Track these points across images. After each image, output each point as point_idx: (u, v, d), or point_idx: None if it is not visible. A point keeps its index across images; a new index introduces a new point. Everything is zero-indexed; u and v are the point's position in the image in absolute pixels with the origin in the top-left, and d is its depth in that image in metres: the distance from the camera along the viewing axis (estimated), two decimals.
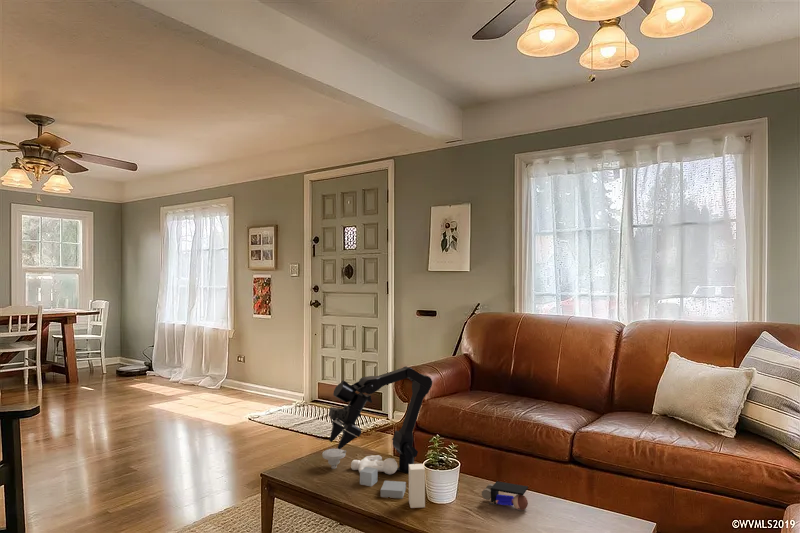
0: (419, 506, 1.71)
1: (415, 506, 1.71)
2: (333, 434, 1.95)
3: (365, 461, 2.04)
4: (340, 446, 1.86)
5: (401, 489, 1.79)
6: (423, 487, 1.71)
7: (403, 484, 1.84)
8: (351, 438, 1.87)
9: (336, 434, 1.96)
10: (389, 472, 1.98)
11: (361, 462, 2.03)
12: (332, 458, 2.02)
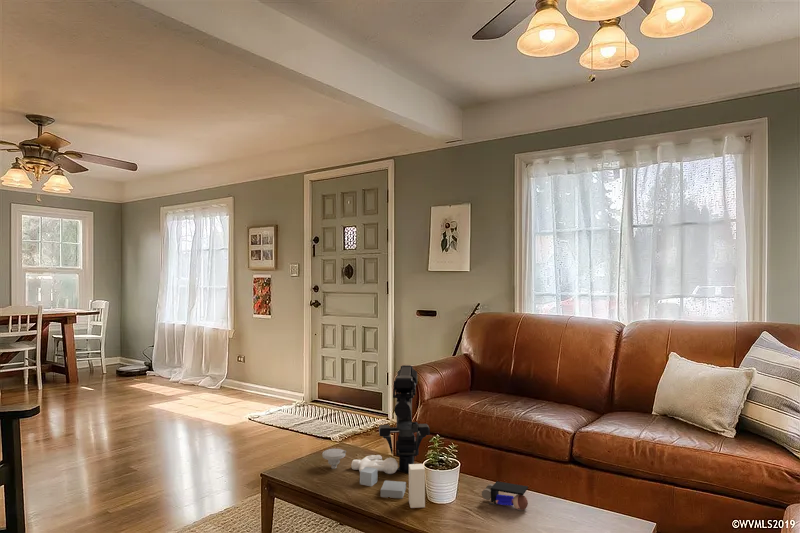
0: (419, 506, 1.71)
1: (415, 506, 1.71)
2: (391, 446, 1.87)
3: (366, 461, 2.04)
4: None
5: (401, 489, 1.79)
6: (423, 487, 1.71)
7: (403, 484, 1.84)
8: None
9: None
10: (389, 472, 1.98)
11: (361, 462, 2.04)
12: (332, 458, 2.02)
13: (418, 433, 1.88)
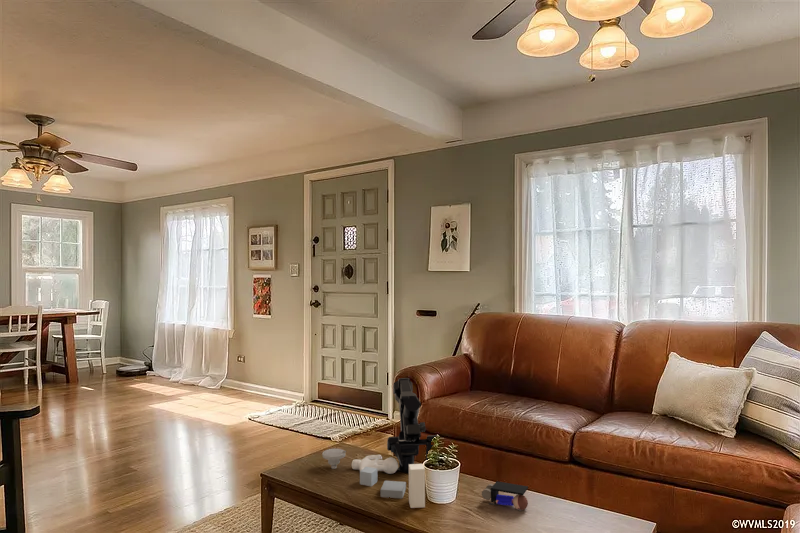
0: (419, 506, 1.71)
1: (415, 506, 1.71)
2: None
3: (366, 460, 2.05)
4: None
5: (401, 489, 1.79)
6: (423, 487, 1.71)
7: (403, 484, 1.84)
8: None
9: None
10: (390, 471, 1.99)
11: (362, 461, 2.04)
12: (332, 458, 2.02)
13: None
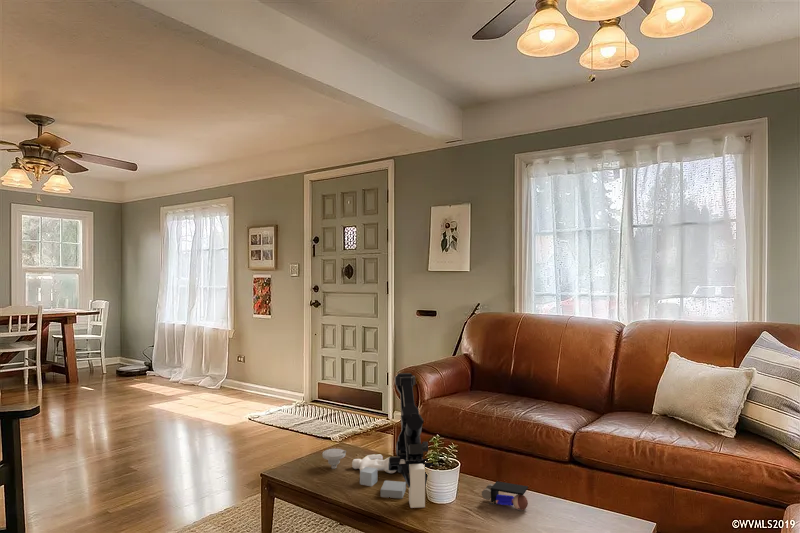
0: (419, 506, 1.71)
1: (415, 506, 1.71)
2: None
3: (366, 460, 2.05)
4: None
5: (401, 489, 1.79)
6: (423, 487, 1.71)
7: (403, 484, 1.84)
8: None
9: None
10: (390, 471, 1.99)
11: (362, 461, 2.05)
12: (332, 458, 2.02)
13: None
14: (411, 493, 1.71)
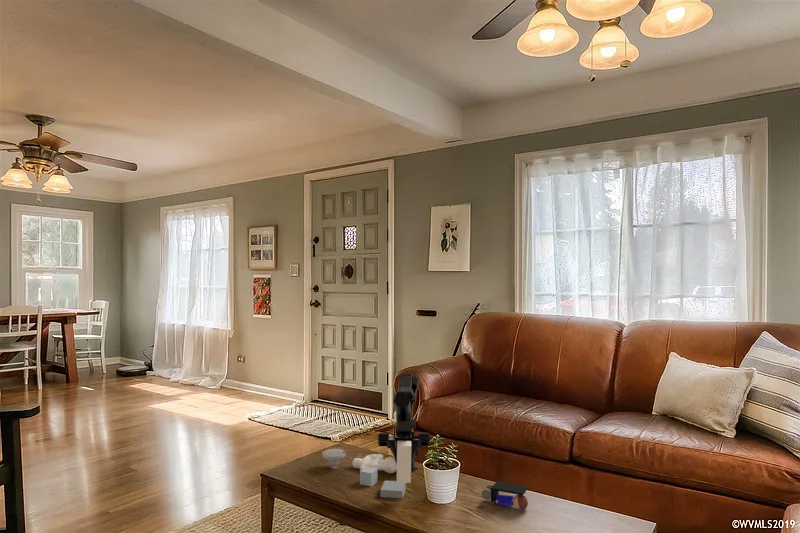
0: (405, 481, 1.75)
1: (401, 481, 1.75)
2: None
3: (367, 459, 2.06)
4: (412, 459, 1.77)
5: (401, 489, 1.79)
6: (409, 463, 1.75)
7: (403, 484, 1.84)
8: (416, 449, 1.81)
9: None
10: (389, 471, 1.99)
11: (362, 460, 2.05)
12: (332, 458, 2.02)
13: None
14: (397, 468, 1.75)
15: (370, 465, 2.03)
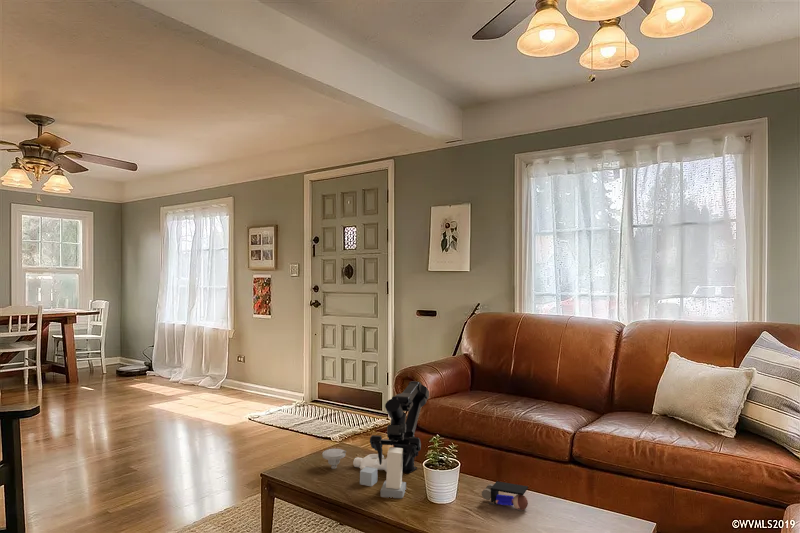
0: (394, 487, 1.80)
1: (390, 487, 1.80)
2: (380, 457, 1.84)
3: (367, 459, 2.07)
4: (406, 463, 1.81)
5: (401, 489, 1.79)
6: (399, 470, 1.80)
7: (403, 484, 1.84)
8: (412, 453, 1.85)
9: (381, 456, 1.85)
10: None
11: (363, 460, 2.06)
12: (332, 458, 2.02)
13: None
14: (387, 474, 1.80)
15: (370, 464, 2.03)
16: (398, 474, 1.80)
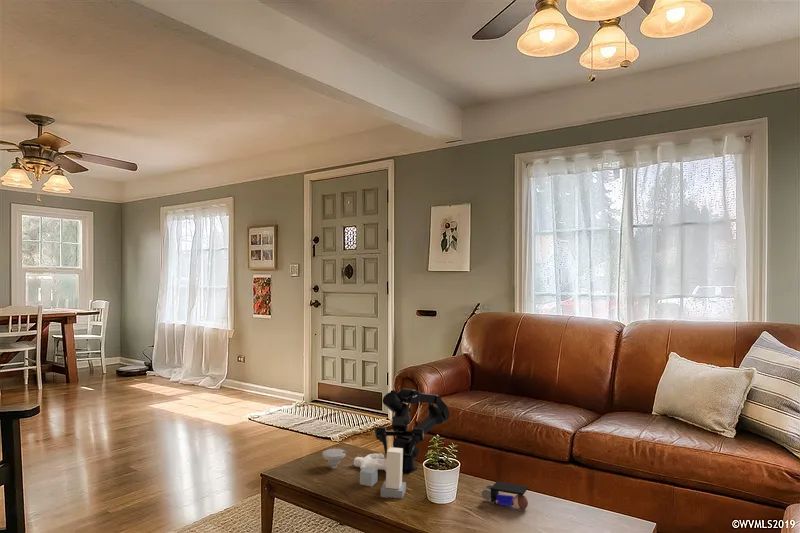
0: (394, 487, 1.80)
1: (390, 487, 1.80)
2: None
3: (368, 459, 2.07)
4: (411, 452, 1.89)
5: (401, 489, 1.79)
6: (398, 470, 1.80)
7: (403, 484, 1.84)
8: (415, 444, 1.94)
9: (386, 447, 1.93)
10: None
11: (363, 459, 2.06)
12: (332, 458, 2.02)
13: None
14: (387, 474, 1.80)
15: (370, 464, 2.04)
16: (398, 474, 1.80)
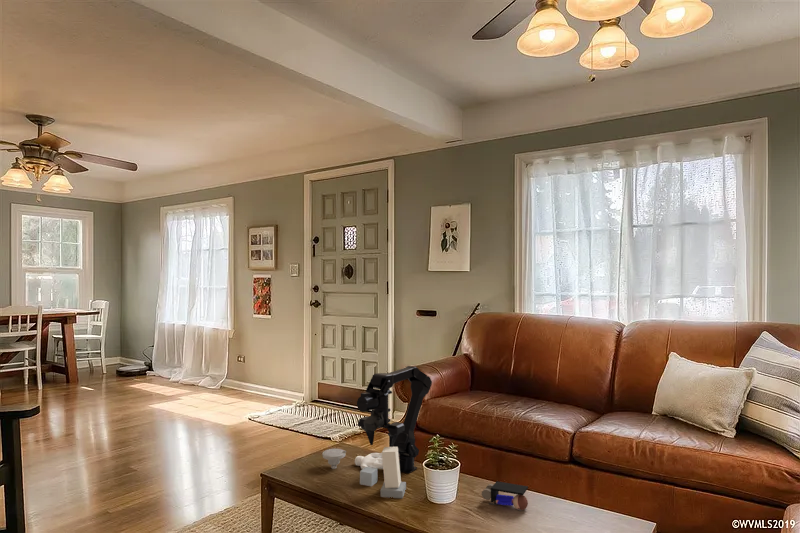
0: (393, 486, 1.80)
1: (389, 486, 1.81)
2: (371, 438, 1.96)
3: (368, 458, 2.08)
4: (391, 446, 1.91)
5: (401, 489, 1.79)
6: (395, 468, 1.80)
7: (403, 484, 1.84)
8: (397, 434, 1.91)
9: (372, 435, 1.97)
10: None
11: (364, 458, 2.08)
12: (332, 458, 2.02)
13: None
14: (384, 474, 1.81)
15: (370, 463, 2.05)
16: (395, 472, 1.80)
